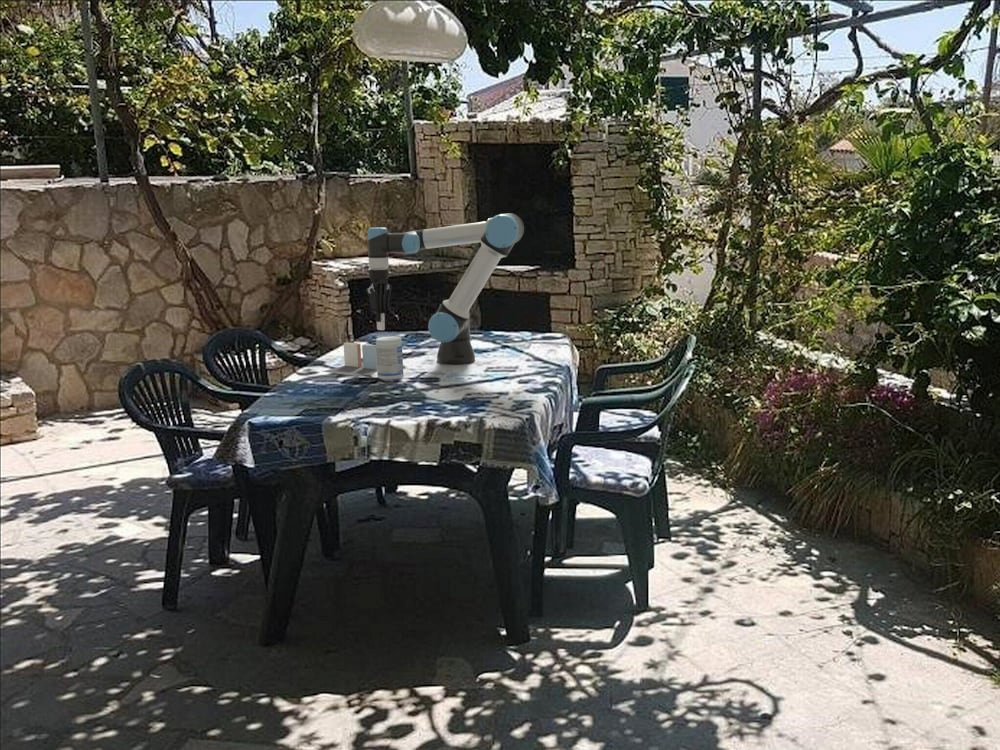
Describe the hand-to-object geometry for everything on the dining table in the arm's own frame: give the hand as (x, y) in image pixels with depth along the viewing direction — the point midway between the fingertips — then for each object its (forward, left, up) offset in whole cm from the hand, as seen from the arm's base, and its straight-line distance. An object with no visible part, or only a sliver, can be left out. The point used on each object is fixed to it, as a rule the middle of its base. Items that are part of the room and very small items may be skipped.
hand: (381, 329), depth 341 cm
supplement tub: (-16, +15, -15) cm, 26 cm away
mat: (+4, +9, -14) cm, 18 cm away
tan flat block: (+9, +7, -14) cm, 18 cm away
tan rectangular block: (0, +7, -14) cm, 16 cm away
